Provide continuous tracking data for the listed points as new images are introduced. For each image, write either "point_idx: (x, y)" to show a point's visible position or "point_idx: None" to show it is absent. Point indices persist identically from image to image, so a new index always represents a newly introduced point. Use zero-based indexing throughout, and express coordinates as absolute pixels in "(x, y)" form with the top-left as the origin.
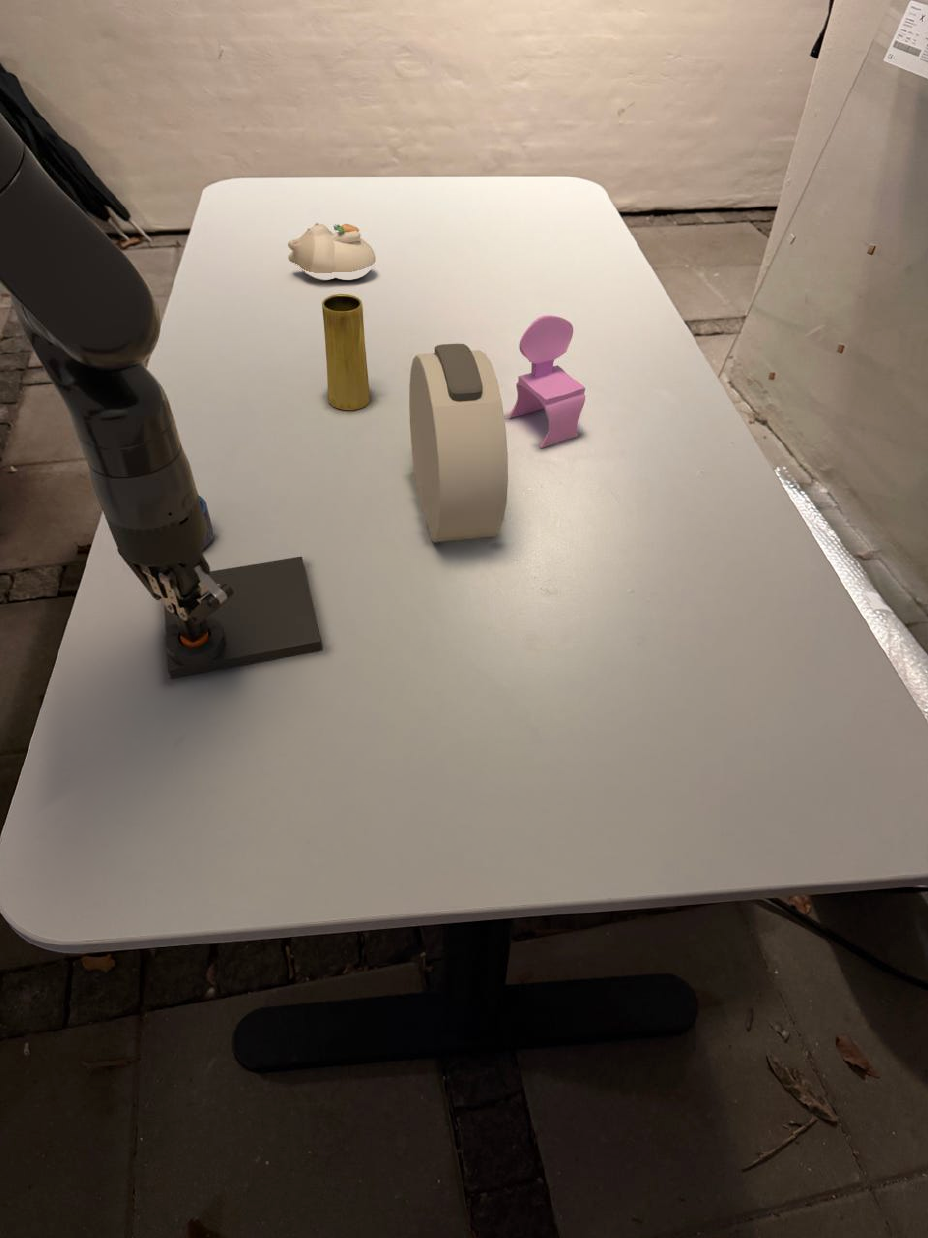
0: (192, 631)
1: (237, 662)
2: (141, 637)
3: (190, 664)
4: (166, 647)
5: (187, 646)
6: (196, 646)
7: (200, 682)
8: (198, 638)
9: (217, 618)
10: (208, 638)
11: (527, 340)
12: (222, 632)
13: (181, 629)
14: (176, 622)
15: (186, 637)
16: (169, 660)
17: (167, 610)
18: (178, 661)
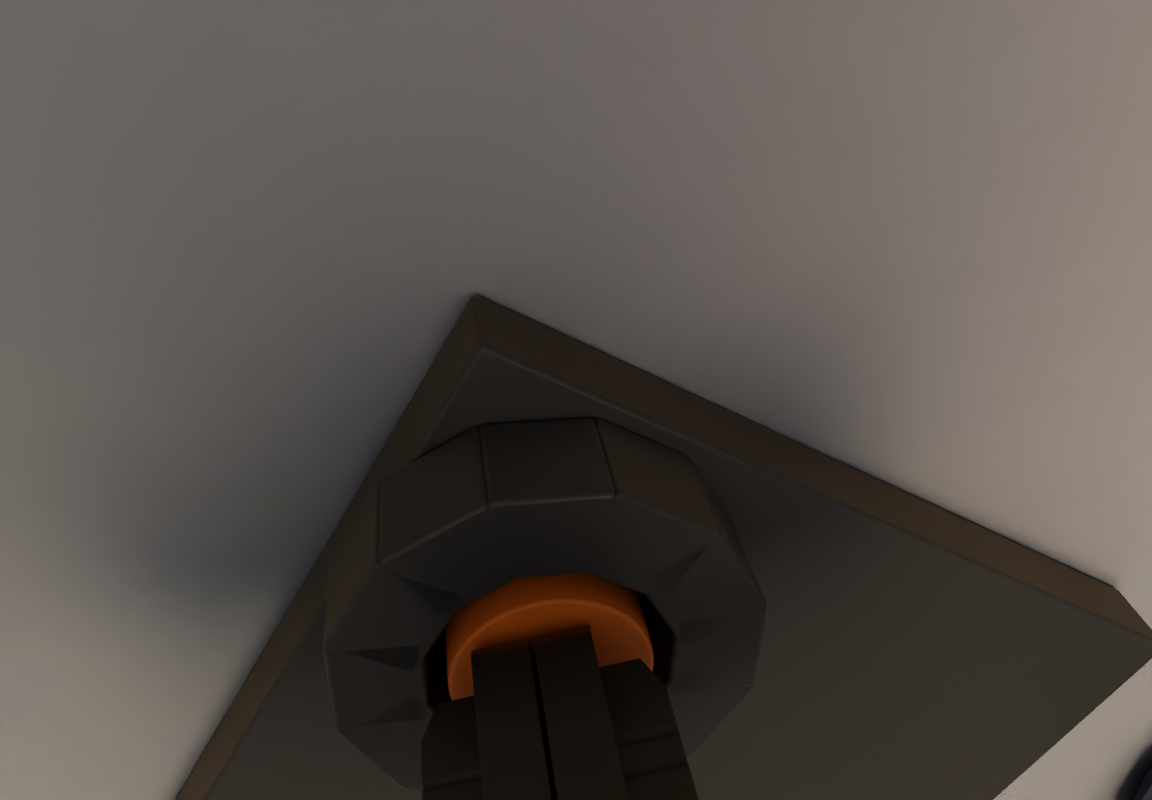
0: (477, 770)
1: (268, 658)
2: (953, 320)
3: (380, 499)
4: (609, 482)
5: (508, 583)
6: (457, 626)
7: (304, 418)
8: (429, 730)
9: None
10: None
11: None
12: None
13: (564, 725)
14: (617, 773)
15: (517, 669)
16: (558, 397)
17: (949, 570)
18: (466, 455)
